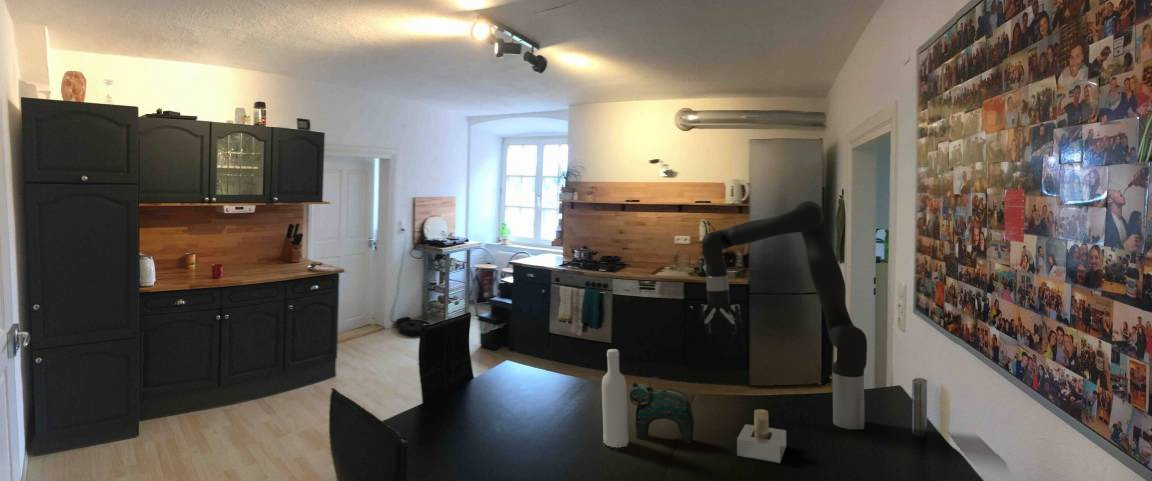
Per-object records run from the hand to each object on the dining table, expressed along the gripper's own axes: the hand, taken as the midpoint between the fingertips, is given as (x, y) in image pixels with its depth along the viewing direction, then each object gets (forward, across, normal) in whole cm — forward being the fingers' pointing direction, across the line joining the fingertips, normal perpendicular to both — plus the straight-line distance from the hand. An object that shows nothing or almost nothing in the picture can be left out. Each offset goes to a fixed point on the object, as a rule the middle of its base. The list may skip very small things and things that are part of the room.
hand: (721, 333), depth 197 cm
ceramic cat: (+27, -13, -30) cm, 43 cm away
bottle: (+26, -25, -40) cm, 54 cm away
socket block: (+29, +17, -27) cm, 43 cm away
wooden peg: (+29, +17, -27) cm, 43 cm away
